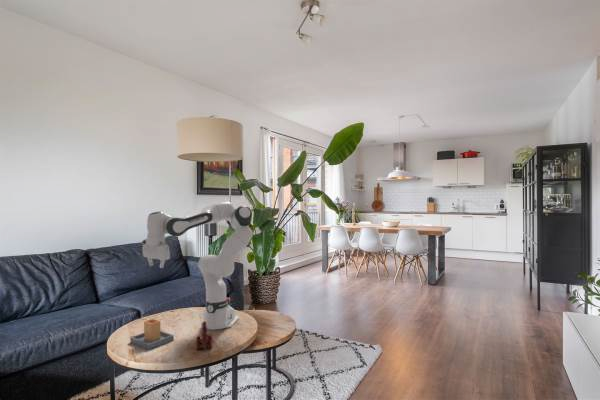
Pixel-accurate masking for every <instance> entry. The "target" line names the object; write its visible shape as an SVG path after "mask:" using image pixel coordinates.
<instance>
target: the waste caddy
mask: <svg viewBox="0 0 600 400" xmlns="http://www.w3.org/2000/svg"><path fill="white" fill-rule="evenodd" d="M143 325H144V326H143V331H144V332H143V333H144V340H147V341H149V342H153V341H156V340H159V339H160V330H161V320H159V319H156V318H151V319H147V320H145V321H143Z"/></svg>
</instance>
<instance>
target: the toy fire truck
mask: <svg viewBox="0 0 600 400" xmlns="http://www.w3.org/2000/svg"><path fill="white" fill-rule="evenodd" d="M201 325H202V328H201V329H202V331H201V336H200V335H198V336H196V350H197V351H199V350H201V349H204V350H206V349H207V347H208V349H212V348H213V346H212V344H213V343H212V342H213V341H212V340H213V339H212V335H211V334H208V333H207V332H208V329H207V327H206V322H203V324H201Z"/></svg>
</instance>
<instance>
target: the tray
mask: <svg viewBox="0 0 600 400" xmlns="http://www.w3.org/2000/svg"><path fill="white" fill-rule="evenodd" d="M174 338H175V337H174V334H172V333H170V332H167V331H164V330H161V329H160V339H159V340H156V341H153V342H149V341H147V340H144V332H142V333H139V334H136V335H133V336H131V337H130V344H134V345H136V346H138V347H141V348H143V349H145V350H148V351H149V350H153V349H154V348H157V347H159V346H162V345H165V344H167V343H170V342H173V341H174V340H175V339H174ZM172 340H173V341H172Z"/></svg>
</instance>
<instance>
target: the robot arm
mask: <svg viewBox="0 0 600 400" xmlns="http://www.w3.org/2000/svg"><path fill="white" fill-rule="evenodd" d="M252 218H253V211H252V209H251V208H250V207H249V206H247V205H240V206H238V207H236V208H235V207H234V205H233V204H232V202H230V201H221V202H216V203H212V204H210V205H206V206H204V207H203V208H202V209H201V212H199V213H198V214H195V215H192V216H188V217H174V216H173V215H172V216H171V215H168V213H167V214H166V213H165V212H163V211H162V210H161V211H154V212H151V213H149V214H148V216H147V221H146V222H147V224H146V229H147V236H146V238H145V239H143V240H142V241H141V244H142V256H143V257H144V258H147V262H148V264H149V265H148V266H150V267H153V266H154V263H155V262H153V259H155V260H159V262H160V264H159V266H158V267H159V268H160V269H163V268H164V265H165V263H166V261H167V260H170V259H171V253H170V247H169V244H168V243H167V242H166V240H165V239H166V237H165V235H166V234H168V235H170V236H172V237H176V238H177V237H181V236H182V235H184V234H185V233H186V232H188V231H189V230H191V229H194V228H197V227H200V226H202V225H207V224H208V225H210V224H216V223H218V222H221V221H225V222H226V224H228V226H229V229H231V230H232V231H233V233H232V234H230V236H229V237H228V238H227V239H226V240H225V241H224V242H223V243H222V244H221V251H220V253H219V254H217V255H215V254H205V255H202V256H201V257H200V259H199V260H198V264H197V267H198V269H199V270H200V272H201V274H202V277H203V280H204V285H205V301H204V303H205V304H204V305H205V307H204V310H203V321H201V325H203V322H206V327H207V330H213V331H215V330H222V329H226V328H232V327H233V326H234V325H235V324H236V323H237V322H238V320H239V319H240V316H238V315H236V314H235V313H236V312H235V309H234V308H233V307H232V306H231V305H230V304H229V302H231V297H227V284H226V283H225V281H224V280H223V278H226V277H230V276H231V275H232V274H233V273H234V270H235V262H236V259H237V258H238V256H239V255H240V254H241V253H242V251H243V250H244V249H245V248H247V246H248V245H249V243H250V242H251V240H252V239H253V236H254V232H253V230H252V229H251V228H250V227H249V226H250V225H251V224H252Z"/></svg>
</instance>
